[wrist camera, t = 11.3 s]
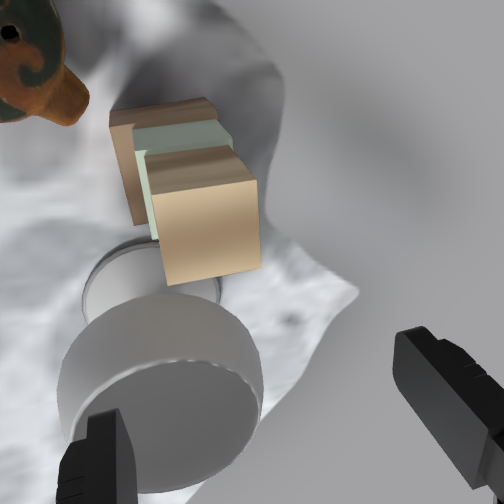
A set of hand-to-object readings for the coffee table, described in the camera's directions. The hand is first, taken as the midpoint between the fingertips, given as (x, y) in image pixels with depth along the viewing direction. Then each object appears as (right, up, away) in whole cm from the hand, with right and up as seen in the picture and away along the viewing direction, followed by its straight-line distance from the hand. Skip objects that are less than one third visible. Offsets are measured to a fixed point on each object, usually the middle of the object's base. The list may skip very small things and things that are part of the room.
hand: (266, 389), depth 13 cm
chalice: (-9, 0, +28) cm, 30 cm away
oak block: (-4, +8, +14) cm, 16 cm away
